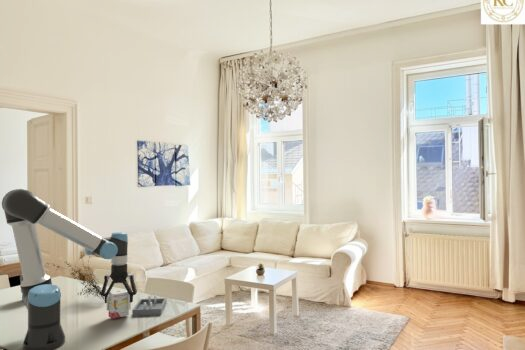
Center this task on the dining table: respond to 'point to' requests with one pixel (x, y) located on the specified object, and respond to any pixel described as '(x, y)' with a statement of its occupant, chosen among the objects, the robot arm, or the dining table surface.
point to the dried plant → (86, 279)
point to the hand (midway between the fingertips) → (118, 309)
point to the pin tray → (149, 306)
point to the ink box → (118, 304)
